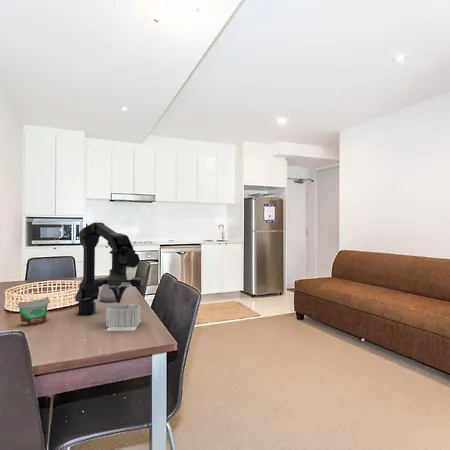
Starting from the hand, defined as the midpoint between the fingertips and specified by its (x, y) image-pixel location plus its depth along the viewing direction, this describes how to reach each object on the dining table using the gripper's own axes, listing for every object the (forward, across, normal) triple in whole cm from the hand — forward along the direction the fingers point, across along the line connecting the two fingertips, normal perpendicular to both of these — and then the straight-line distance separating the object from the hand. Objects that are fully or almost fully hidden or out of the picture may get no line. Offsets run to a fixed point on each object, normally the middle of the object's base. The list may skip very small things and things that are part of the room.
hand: (118, 302), depth 134 cm
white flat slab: (+10, +2, 0) cm, 10 cm away
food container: (+10, -35, +4) cm, 36 cm away
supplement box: (+5, -4, 0) cm, 7 cm away
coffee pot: (+10, -17, +49) cm, 53 cm away
